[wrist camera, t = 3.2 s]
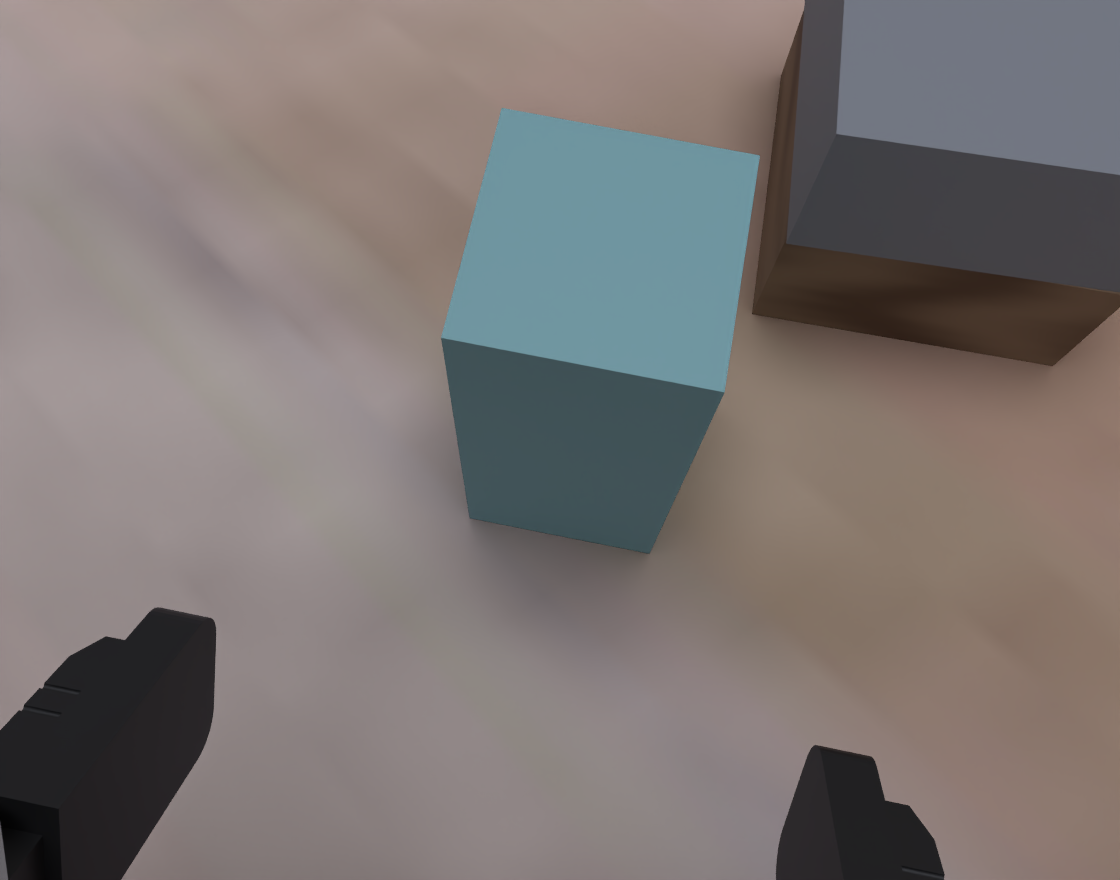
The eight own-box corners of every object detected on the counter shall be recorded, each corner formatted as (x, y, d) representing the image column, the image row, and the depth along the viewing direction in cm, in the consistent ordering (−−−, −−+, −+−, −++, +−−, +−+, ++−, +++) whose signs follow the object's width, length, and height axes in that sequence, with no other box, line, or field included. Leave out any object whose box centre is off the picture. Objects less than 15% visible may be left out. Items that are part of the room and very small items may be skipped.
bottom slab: (750, 318, 31) (786, 237, 27) (779, 81, 34) (815, -24, 30) (1048, 370, 31) (1131, 296, 27) (1049, 126, 34) (1123, 26, 30)
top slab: (786, 243, 27) (836, 133, 23) (806, -21, 30) (853, -160, 26) (1131, 294, 27) (1246, 193, 22) (1115, 23, 30) (1212, -110, 26)
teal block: (469, 517, 28) (441, 337, 18) (507, 356, 30) (502, 108, 20) (649, 553, 28) (724, 392, 18) (677, 388, 30) (759, 155, 20)
